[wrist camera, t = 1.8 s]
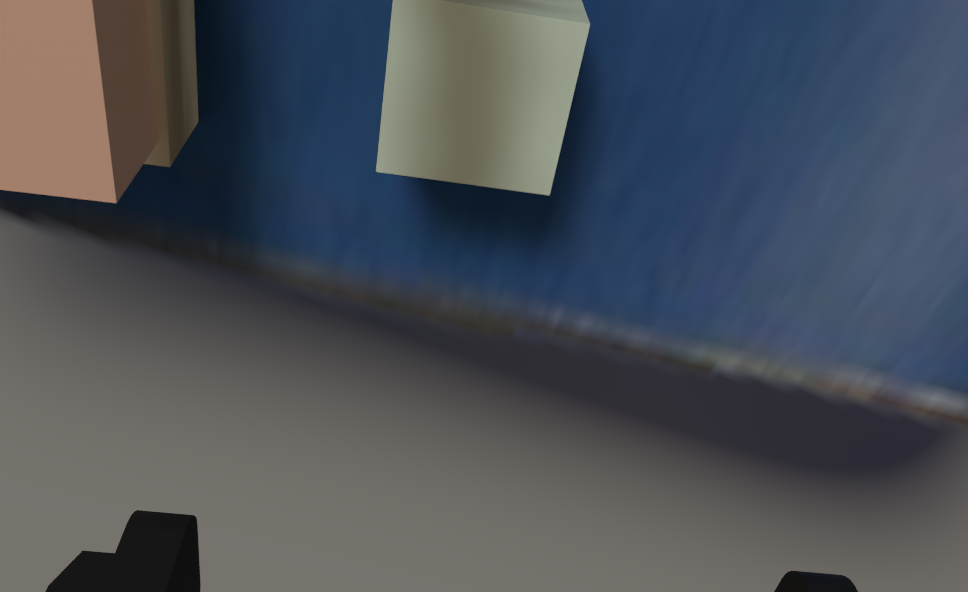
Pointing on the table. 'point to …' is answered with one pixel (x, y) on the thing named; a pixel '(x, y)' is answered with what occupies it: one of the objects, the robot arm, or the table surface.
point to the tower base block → (172, 76)
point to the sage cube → (480, 90)
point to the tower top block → (75, 97)
